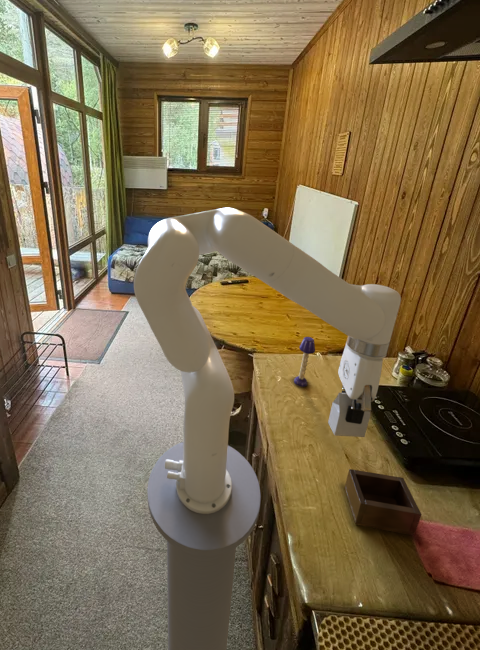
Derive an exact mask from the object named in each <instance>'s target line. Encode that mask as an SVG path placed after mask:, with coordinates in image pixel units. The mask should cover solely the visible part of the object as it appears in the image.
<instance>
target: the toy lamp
mask: <svg viewBox="0 0 480 650" xmlns="http://www.w3.org/2000/svg"><path fill="white" fill-rule="evenodd" d="M299 350H300V351H301V352H302V353H303V354H302V358H301V363H300V368H299V369H300V370H299V374H298V376H295V378H294V379H293V383H294V384H295V385H296V386H298V387H302V388H306V387H307V386H308V381H307V379H306V378H305V375H306V371H307V366H308V362H309V357H310V356H309V355H312V354H314V353H315V352H316V346H315V339H314V338H313V337H311V336H305V337H303V339H302V341H301V343H300V345H299Z"/></svg>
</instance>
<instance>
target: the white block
mask: <svg viewBox="0 0 480 650" xmlns="http://www.w3.org/2000/svg"><path fill="white" fill-rule="evenodd" d="M361 395H362V394H361ZM356 403H362V400H359V399H356ZM348 406H351V398H350V397H349V396H348V395H347V393H342V392H338V393H337V395H336V397H335V399H334V400H333V401H332V403H331V407H330V412H329V417H328V421H327V423H328V425H329V427H330V430H331V432H332V434H333V435H334V436H335V437H337V436H338V437H355V438H365V437H366V433H367V429H368V426H369V422H370V419H371V411H370V412H369V411H365V412H364V416H363V420H362V423H361V424H356V423H349V422H346V420H345V418H346V414H347V410H348Z"/></svg>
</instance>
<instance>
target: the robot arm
mask: <svg viewBox="0 0 480 650" xmlns="http://www.w3.org/2000/svg"><path fill="white" fill-rule="evenodd" d="M215 252H218V254H220V255H221V256H222V257H223V258H225V259H226V260H227V261H229V262H231V263H232V264H234V265H235V266H237V267H238V268H240V269H242V270H243V271H245V272H247V273H249V274H250V275H252V276H254V277H255V278H257V279H258V280H260V281H261V282H262V283H265V284H266V285H267V286H269V287H270V288H272V289H273V290H275V291H277V292H278V293H280V294H281V295H282V296H284V297H285V298H287V299H288V300H290V301H292V302H294V303H295V304H297V305H299V306H300V307H302V308H304V309H306V310H307V311H308V312H309V313H312V314H313V315H315V316H316V317H317V318H319V319H321V320H322V321H323V322H326V324H329V325H330V326H331V327H333V328H334V329H337V331H339V332H341V333H343V334H344V335H346V336H347V338H346V341H345V346H344V349H343V352H342V355H341V359H340V362H339V365H338V366H339V367H338V370H337V374H338V378H339V380H340V381H341V384H342V390H341V393H347V395H348V396H349V397H350V398H351V406H348V410H347V414H346V418H345V420H346V422H349V423H356V424H361V423H362V420H363V416H364V412H365V411H369V412H370V413H371V411H372V403H373V402H374V401H375V399H376V397H377V394H378V390H379V386H380V381H381V376H382V369H383V362H384V360H383V359H385V358H386V357H387V353H388V351H389V348H390V347H389V346H390V343H391V339H392V336H393V332H394V329H395V324H396V320H397V317H398V314H399V309H400V306H401V301H402V297H401V294H400V293H399V292H398V290H396V289H394V288H391V287H389V286H386V285H382V284H375V283H367V284H363V285H361V284H360V285H359V284H353V283H352V284H351V283H349V282H348V281H346V280H344V279H343V278H341V276H339V275H337V274H335V273H334V272H332V271H331V270H330V269H328V267H326V266H324V265H323V264H322V263H321V262H319V261H318V260H316V259H315V258H314V257H312V256H311V255H310V254H308V253H306V252H305V251H304V250H302V249H301V248H299V247H298V246H297V245H295V244H293V243H292V242H290V241H289V240H288V239H286V238H285V237H284V236H282V235H280V234H279V233H277V232H276V231H274V229H272V228H271V227H269V226H268V225H266V224H264V223H263V222H262V221H260V220H258V219H257V218H256V217H254V216H253V215H251V214H249V213H247V212H245V211H242V210H239V209H237V208H233V207H222V208H216V209H210V210H205V211H201V212H194V213H189V214H184V215H178V216H172V217H168V218H167V217H166V218H164V219H162V220H160V221H158V222H157V223H155V224H154V225H153V226H152V228H151V229H150V231H149V233H148V236H147V249H146V251H145V252H144V254H143V256H142V257H141V259H140V261H139V263H138V264H137V267H136V270H135V273H134V277H133V291H134V295H135V299H136V302H137V303H138V305H139V308H140V310H141V311H142V314H143V315H144V317H145V320H146V321H147V323H148V325H149V327H150V330H151V332H152V333H153V336H154V337H155V339H156V340H157V343H158V344H159V346H160V349H161V351H162V353H163V355H164V357H165V358H166V360H167V361H168V363H169V364H170V365H171V366H172V367H174V368H175V369H176V370H178V371H180V377H181V383H182V388H183V396H184V411H183V424H182V425H183V426H182V427H183V428H182V432H183V435H182V436H183V438H182V439H183V441H182V442H183V461H182V460H180V461H179V462H177V461H174V460H169V459H166V461H165V469H170V470H177V471H178V473H174V472H170V471H168V474H167V478H168V479H175V480H176V490H177V494H178V497H179V499H180V500H181V502H182V503H183V504H184V505H185V506H186V507H187V508H188V509H190V510H191V511H194V512H196V513H201V514H210V513H214V512H216V511H219V510H220V509H221V508H223V507H224V506H225V505H226V504H227V502H228V500H229V499H230V496H231V490H232V482H231V477H230V475H229V473H228V471H227V470H226V463H227V449H228V446H229V433H230V432H229V429H230V422H231V421H230V419H231V415H232V411H233V408H234V404H235V390H234V385H233V382H232V379H231V377H230V374H229V372H228V370H227V368H226V365H225V364H224V361H223V358H222V357H221V354H220V352H219V350H218V347H217V345H216V343H215V341H214V338H213V337H212V335H211V332H210V330H209V329H208V326H207V325H206V322H205V319H204V318H203V315H202V314H201V312H200V310H199V309H197V307H195V306H194V305H193V303H192V300H191V298H190V297H189V294H188V292H187V289H186V286H187V285H186V284H187V282H188V279H189V277H190V276H191V274H192V273H193V272H194V270H195V268H196V267H197V265H198V262H199V259H200V256H202V255H206V254H211V253H215ZM361 394H362V395H361ZM356 399H359V400H362V403H356ZM213 507H214V508H213Z"/></svg>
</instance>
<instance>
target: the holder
mask: <svg viewBox="0 0 480 650" xmlns="http://www.w3.org/2000/svg"><path fill="white" fill-rule="evenodd" d="M344 491H345V495H346V499H347V503H348V505H349V508H350V511H351V512H350V513H351V515H352V518H353V521H354V525H358V526H362V527H367V528H373V529H378V530H382V531H389V532H393V533H399V534H404V535H409V536H415V534H416V532H417V529H418V526H419V523H420V520H421V518H422V512H421V510H420V509H419V506H418V505H417V503H416V500H415V498H414V497H413V495H412V492H411V490H410V489H409V487H408V484H407V483H406V481H405V478H404V477H401V476H395V475H389V474H382V473H377V472H370V471H366V470H365V471H364V470H359V469H353V468H349V469H348V473H347V476H346V481H345V486H344Z"/></svg>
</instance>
